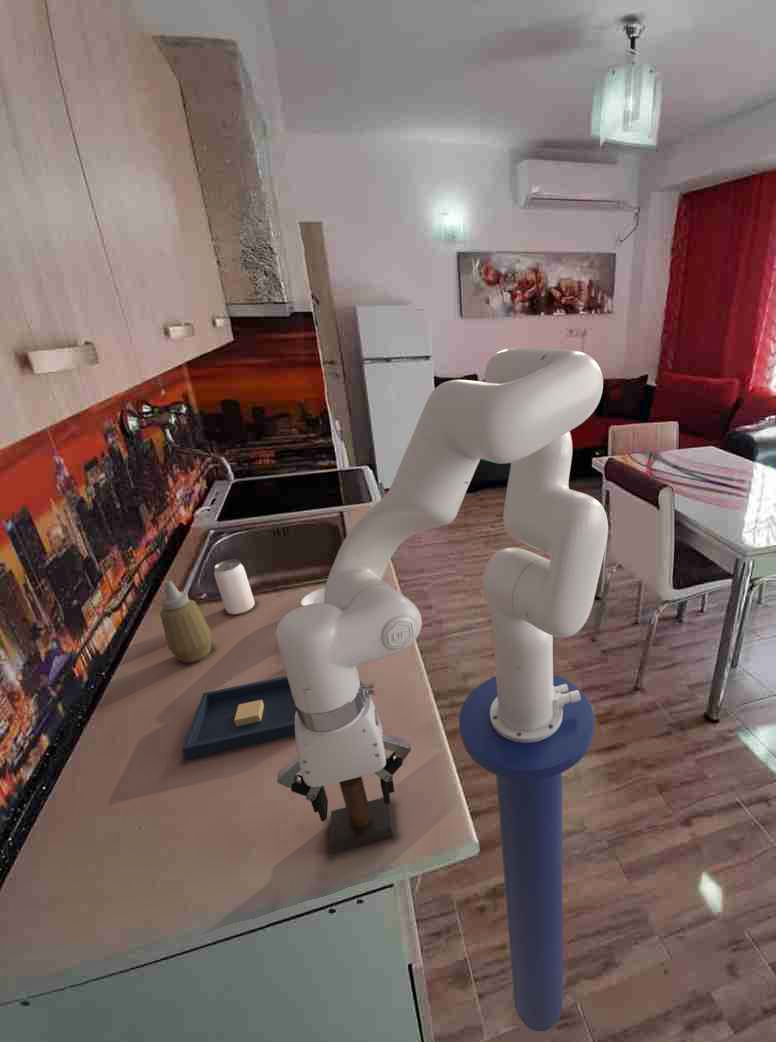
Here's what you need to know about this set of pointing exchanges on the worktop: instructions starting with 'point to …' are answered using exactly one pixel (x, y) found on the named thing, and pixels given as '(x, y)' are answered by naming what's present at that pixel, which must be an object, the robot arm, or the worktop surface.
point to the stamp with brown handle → (359, 818)
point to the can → (234, 587)
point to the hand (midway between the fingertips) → (356, 802)
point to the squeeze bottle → (184, 625)
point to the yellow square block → (249, 713)
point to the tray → (219, 709)
